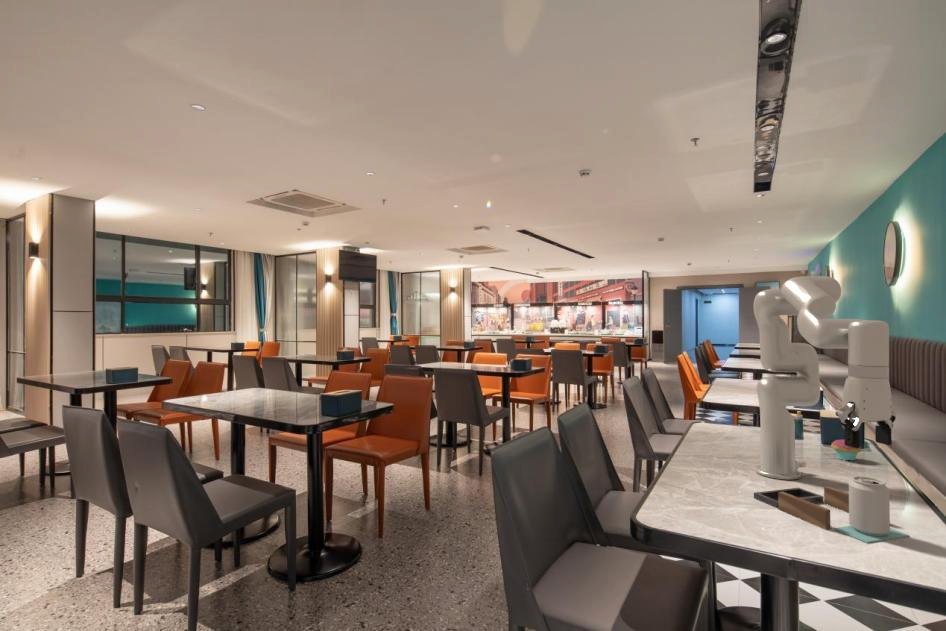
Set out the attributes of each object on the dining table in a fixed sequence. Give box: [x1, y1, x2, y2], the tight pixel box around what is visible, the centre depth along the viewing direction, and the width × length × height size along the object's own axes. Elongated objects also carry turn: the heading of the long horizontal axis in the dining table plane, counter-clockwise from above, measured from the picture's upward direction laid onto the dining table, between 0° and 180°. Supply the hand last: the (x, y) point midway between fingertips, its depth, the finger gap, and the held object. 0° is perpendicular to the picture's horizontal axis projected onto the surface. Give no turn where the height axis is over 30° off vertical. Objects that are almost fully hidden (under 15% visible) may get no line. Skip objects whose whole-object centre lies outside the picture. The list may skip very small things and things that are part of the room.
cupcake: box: [830, 438, 862, 461], centre depth 176 cm, size 9×8×12 cm
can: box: [848, 475, 891, 536], centre depth 116 cm, size 8×8×12 cm
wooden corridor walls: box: [778, 486, 849, 531], centre depth 126 cm, size 17×13×4 cm
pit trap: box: [753, 487, 824, 509], centre depth 136 cm, size 16×8×2 cm, turn 105°
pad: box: [833, 525, 910, 544], centre depth 115 cm, size 13×8×1 cm, turn 105°
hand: (867, 445), depth 116 cm, fingers open, 9 cm apart
